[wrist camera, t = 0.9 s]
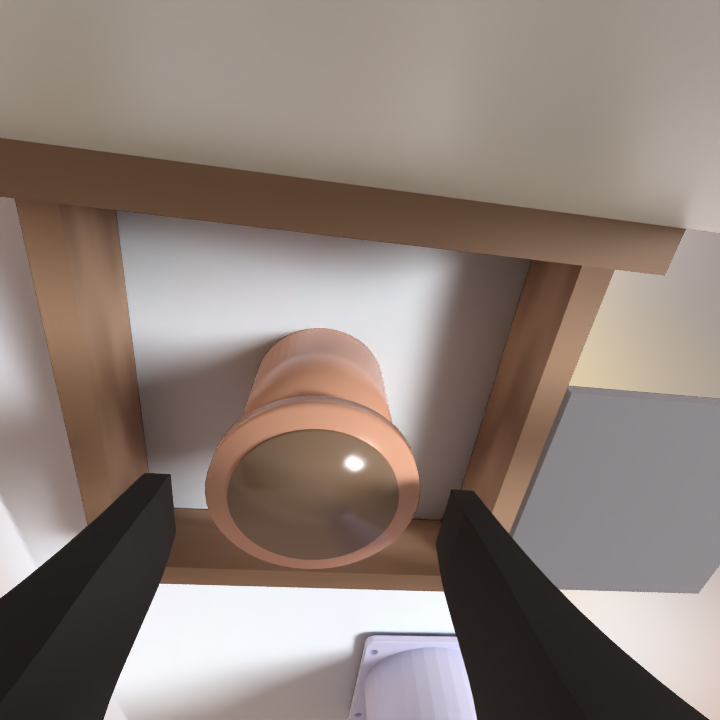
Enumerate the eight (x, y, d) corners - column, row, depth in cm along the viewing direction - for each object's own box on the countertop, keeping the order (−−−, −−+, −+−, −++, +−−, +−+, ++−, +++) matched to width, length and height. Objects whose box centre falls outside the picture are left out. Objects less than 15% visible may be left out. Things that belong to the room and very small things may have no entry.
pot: (381, 448, 18) (401, 576, 13) (245, 439, 18) (207, 570, 12) (403, 325, 16) (441, 420, 10) (246, 310, 15) (198, 402, 10)
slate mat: (690, 583, 24) (698, 593, 24) (488, 576, 23) (492, 587, 22) (817, 407, 19) (832, 414, 18) (564, 385, 17) (571, 392, 17)
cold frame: (466, 536, 21) (511, 667, 16) (132, 521, 19) (56, 664, 14) (579, 200, 14) (730, 233, 9) (70, 130, 12) (-128, 119, 7)
